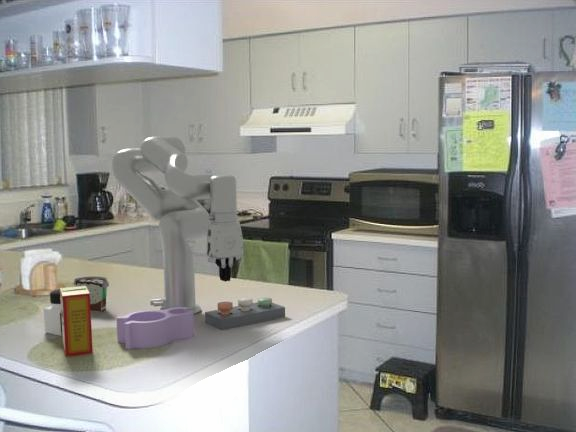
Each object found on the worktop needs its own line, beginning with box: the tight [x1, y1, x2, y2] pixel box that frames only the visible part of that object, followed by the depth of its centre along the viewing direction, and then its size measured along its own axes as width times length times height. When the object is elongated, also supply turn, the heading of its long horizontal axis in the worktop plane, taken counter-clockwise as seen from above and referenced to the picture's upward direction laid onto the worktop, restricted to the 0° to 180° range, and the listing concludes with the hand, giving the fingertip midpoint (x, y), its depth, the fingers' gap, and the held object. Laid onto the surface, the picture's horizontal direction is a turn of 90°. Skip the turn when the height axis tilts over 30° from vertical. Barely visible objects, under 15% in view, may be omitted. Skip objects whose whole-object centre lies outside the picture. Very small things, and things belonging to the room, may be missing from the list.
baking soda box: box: [59, 286, 94, 358], centre depth 171 cm, size 10×6×16 cm
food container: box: [73, 275, 110, 314], centre depth 211 cm, size 12×6×10 cm, turn 65°
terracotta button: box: [217, 301, 234, 316], centre depth 193 cm, size 4×4×4 cm
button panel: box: [204, 301, 286, 331], centre depth 198 cm, size 22×10×3 cm, turn 126°
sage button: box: [257, 297, 273, 308], centre depth 202 cm, size 4×4×4 cm
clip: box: [116, 307, 195, 350], centre depth 180 cm, size 20×12×7 cm, turn 123°
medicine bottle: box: [43, 288, 62, 337], centre depth 187 cm, size 7×7×12 cm
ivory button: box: [237, 297, 254, 312], centre depth 198 cm, size 4×4×4 cm
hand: (225, 280), depth 192 cm, fingers closed
